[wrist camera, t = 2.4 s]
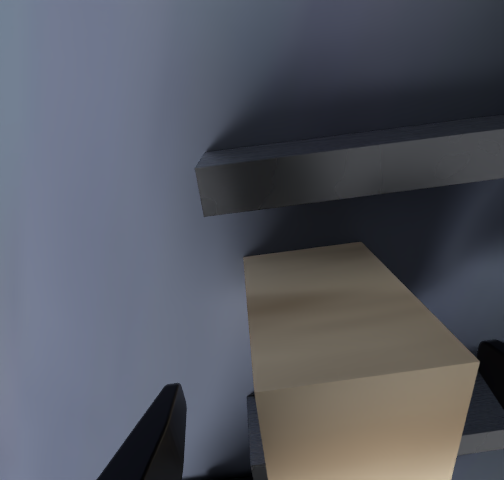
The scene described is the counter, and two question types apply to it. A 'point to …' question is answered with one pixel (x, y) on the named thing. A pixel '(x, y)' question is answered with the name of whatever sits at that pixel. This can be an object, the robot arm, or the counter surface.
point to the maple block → (352, 370)
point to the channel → (356, 185)
